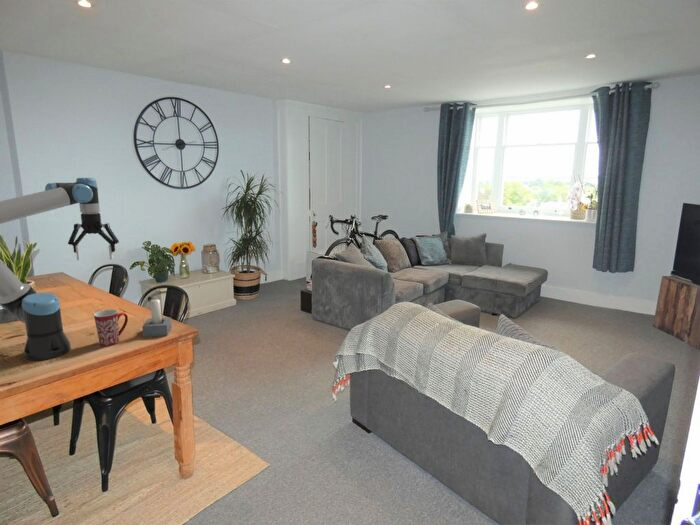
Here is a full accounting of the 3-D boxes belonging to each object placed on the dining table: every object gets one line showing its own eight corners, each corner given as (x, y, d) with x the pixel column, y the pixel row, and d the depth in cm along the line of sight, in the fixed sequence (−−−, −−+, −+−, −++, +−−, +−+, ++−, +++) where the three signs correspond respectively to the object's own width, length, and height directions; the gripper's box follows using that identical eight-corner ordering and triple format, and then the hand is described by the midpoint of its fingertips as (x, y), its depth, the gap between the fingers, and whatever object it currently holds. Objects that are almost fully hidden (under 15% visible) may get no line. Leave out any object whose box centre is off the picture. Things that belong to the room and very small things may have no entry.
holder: (167, 335, 188) (166, 325, 187) (143, 337, 186) (142, 326, 185) (171, 327, 197) (170, 317, 196) (148, 328, 195) (147, 318, 194)
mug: (100, 349, 173) (96, 318, 170) (94, 342, 179) (90, 312, 176) (133, 340, 182) (130, 311, 179) (126, 334, 188) (123, 306, 185)
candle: (161, 331, 190) (158, 299, 187) (151, 331, 189) (149, 300, 186) (163, 328, 194) (160, 297, 191) (153, 328, 193) (151, 297, 190)
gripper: (123, 211, 194) (127, 256, 199) (63, 212, 189) (69, 258, 194) (117, 213, 187) (122, 260, 191) (55, 213, 182) (61, 261, 187)
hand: (95, 259), depth 193 cm, fingers open, 13 cm apart
